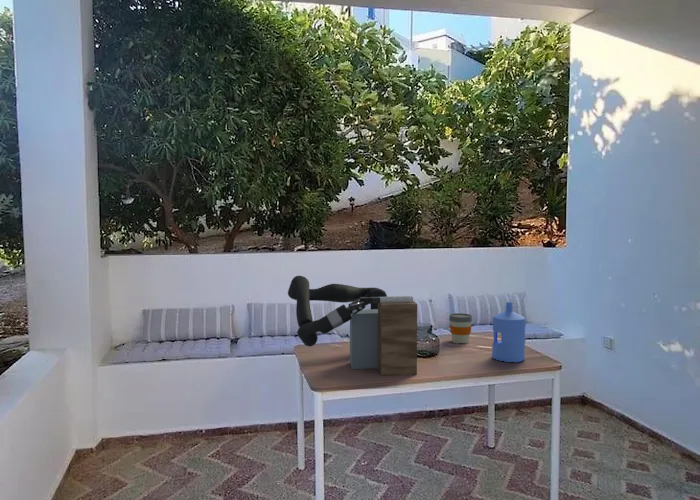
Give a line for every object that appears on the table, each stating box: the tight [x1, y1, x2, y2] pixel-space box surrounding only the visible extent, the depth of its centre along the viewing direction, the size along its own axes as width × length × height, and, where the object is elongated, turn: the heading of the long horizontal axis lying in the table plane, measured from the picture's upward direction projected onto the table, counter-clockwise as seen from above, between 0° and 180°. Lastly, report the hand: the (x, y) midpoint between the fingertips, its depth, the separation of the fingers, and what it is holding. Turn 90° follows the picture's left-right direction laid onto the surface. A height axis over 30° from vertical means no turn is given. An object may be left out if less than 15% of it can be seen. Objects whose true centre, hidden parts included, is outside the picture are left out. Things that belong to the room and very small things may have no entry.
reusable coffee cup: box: [449, 312, 473, 344], centre depth 295 cm, size 13×12×15 cm
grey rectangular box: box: [349, 308, 378, 370], centre depth 249 cm, size 10×20×26 cm, turn 96°
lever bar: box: [360, 295, 414, 303], centre depth 237 cm, size 3×24×2 cm, turn 96°
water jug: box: [491, 301, 526, 363], centre depth 260 cm, size 16×16×28 cm
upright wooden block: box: [377, 300, 418, 377], centre depth 239 cm, size 11×16×32 cm
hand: (370, 297), depth 236 cm, fingers open, 7 cm apart
